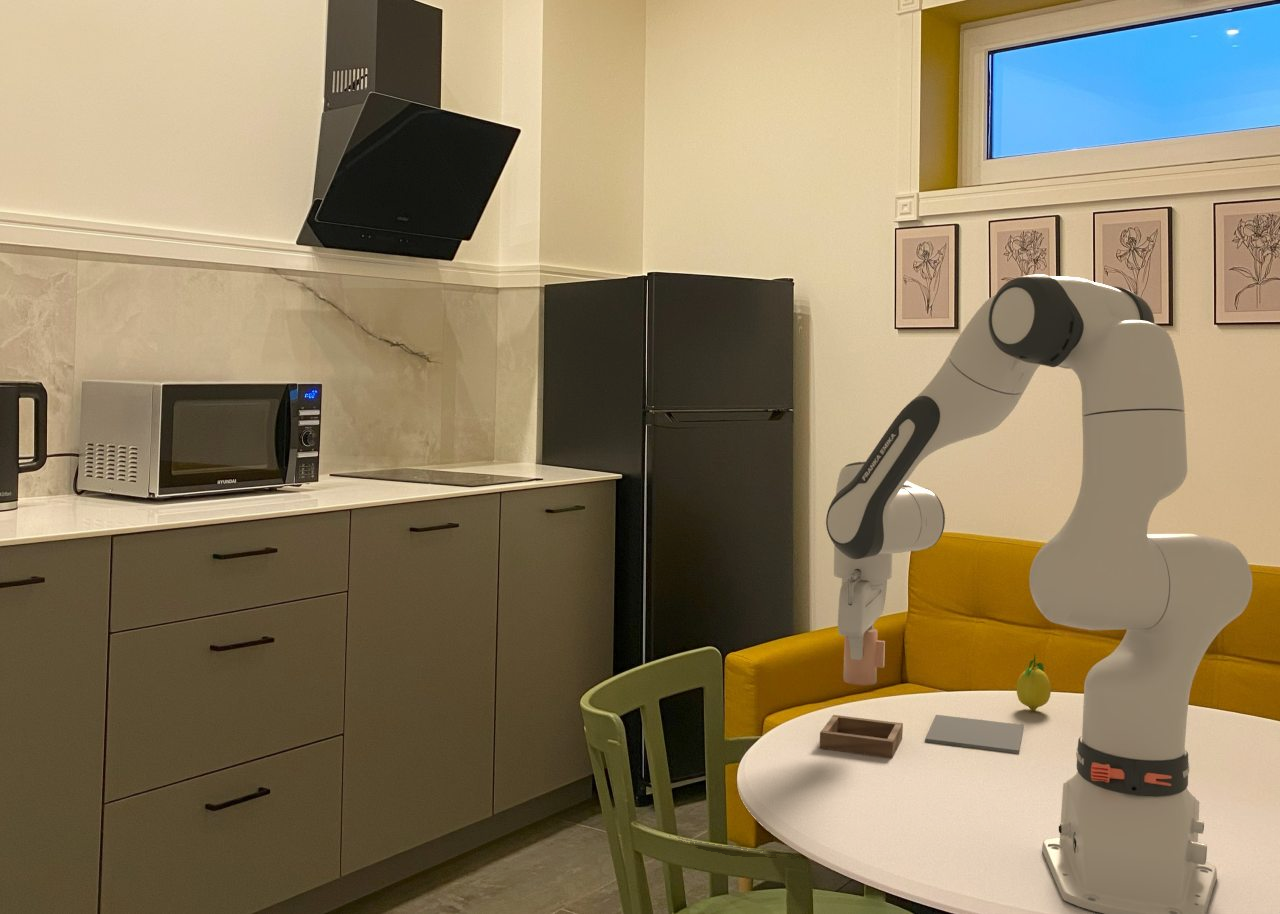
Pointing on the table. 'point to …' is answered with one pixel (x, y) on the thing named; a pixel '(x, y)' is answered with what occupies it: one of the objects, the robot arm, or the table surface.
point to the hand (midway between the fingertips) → (860, 654)
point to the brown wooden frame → (847, 731)
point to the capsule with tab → (864, 660)
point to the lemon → (1033, 686)
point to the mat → (975, 733)
